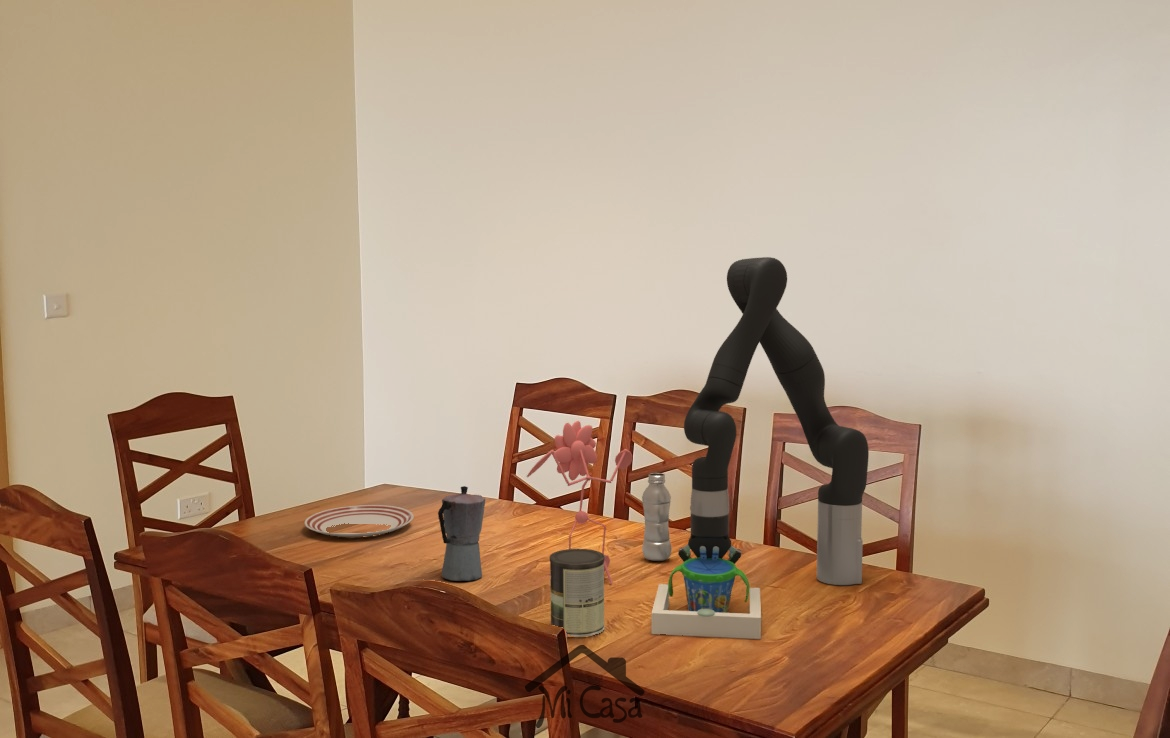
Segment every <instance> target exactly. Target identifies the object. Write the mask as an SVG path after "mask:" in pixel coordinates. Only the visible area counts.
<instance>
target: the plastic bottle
mask: <svg viewBox="0 0 1170 738" xmlns="http://www.w3.org/2000/svg"><path fill="white" fill-rule="evenodd" d="M647 483H649V484H648V486H647V487H646V488H645V489H644V491H643V493H642V496H641V500H642V508H643V513H644V514H643V516H644V536H643V542H642V555H643V556H644V558H645V560H649V561H653V562H654V561H655V562H662V561H667V560H669V558H670V557H671V554H672V543H671V539H670V529H669V520H670V519H669V518H670V507H671V502H672V501H671V499H672V496H671V494H670V492H669V490H668V489H667V487H666V486H665V483H666V474H665V473H662V472H651V473H649V474H648V480H647Z"/></svg>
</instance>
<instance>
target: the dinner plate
mask: <svg viewBox="0 0 1170 738" xmlns="http://www.w3.org/2000/svg"><path fill="white" fill-rule="evenodd" d="M414 517H415V516H414V514H413V512H411V511H410V510H409V509H406V508H403V507H399V506H395V505H394V506H393V505H383V504H364V505H363V504H362V505H349V506H341V507H336V508H329V509H325V510H322V511H320V512H319V511H318V512H316V513H313V514H312V515H310V516H308V517H307V518H306V519H305V521H304V526H305V527H306V528H307V529H309V530H311V531H313V532H316V533H318V534H319V533H320V534H323V535H326V536H329V535H330V537H333V536H338V537H337V538H339V537H363V536H373V535H379V534H383V535H385V534H384V533H387V534H389V533H391V532H394V531H396V530H399V529H401V528H404V527H405V526H407V525H408V524H410V523H411V522H412V521H413V519H414ZM344 523H345V524H348V523H349V524H376V525H377V524H379V525H380V524H381V525H383V524H385V525H386V524H387V525H386V526H388V525H391V527H390V528H389V529H387V530H382V531H376V532H367V533H329V532H327V531H326V528H327V527H331V526H332V525H333V526H334V525H335V526H336V525H339V524H340V525H341V524H344ZM333 526H332V527H333ZM335 526H334V527H335ZM388 532H389V533H388ZM379 536H380V535H379ZM373 537H374V536H373Z"/></svg>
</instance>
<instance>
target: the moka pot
mask: <svg viewBox="0 0 1170 738" xmlns="http://www.w3.org/2000/svg"><path fill="white" fill-rule="evenodd" d="M468 488H469V487H468V486H466V485H465V486H461V487H460V492H461V493H458V494H451V495H446V496H445V497H443V498H442V500H441V502H442V504H441V507H440V508H439V509H438V512H437V516H438V520H439V526H440V531H441V536H442V543H444V544H446V545H445V553H444V558H443V563H442V569H441V577H442V578H443V579H446V580H449V581H456V582H466V581H475V580H479V579H480V578H482V577H483V571H482V562H481V551H480V543H479V542H480V535H481V532H482V529H483V527H482V526H483V519H484V513H485V507H486V506H485V505H486V498H485V497H483V496H482V495H480V494H471V493H470V494H469V493H468Z"/></svg>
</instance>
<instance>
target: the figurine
mask: <svg viewBox="0 0 1170 738" xmlns="http://www.w3.org/2000/svg"><path fill="white" fill-rule="evenodd" d="M593 430H594V429H593V426H592V425H590V424H588V425H583V427H582V424H581V421H580V420H576V421H574V422H573V423H572V424H570V423H569V422H565V423H564V426H563V429H562V435H559V434H556V435H555V436H554V445H555V448H556V450H554V449H551V450H550V451H548V452H547V453H546V454H545V455H543V456H542V457H541V458H540V459H539V460H537V462H536V463H535V464H534V465H533V467H532V468H531V469H530V470H529V472H528V474H527V475H526V477H527V478H529V477H530V476H531V475H533V474H534V473H535V472H537V471H538V470H539V469H540V468H541V467H542V466H543V464H544V463H546V462H547V461H548V460H549V458H550V457H551V456H552V457H553V458H554V461H555V463H556V465H557V467H556V472H557V474H561V475H562V477H563V479H564V480H565V483H566V484H567V486H568V487H570V486H573V485H575V484H578V483H580V482H584V483H583V484H582V486H581V493H580V499H579V500H580V501H579V502H580V503H579V509H578V510H579V511H577V512H576V514H575V515H574V518H575V519H574V520H575V521H574V523H573V526H572V529H571V530H570V532H569V535H568V549H572V548H571V546H572V545H571V544H572V539H571V538H572V537H571V536H572V534H573V532H574V530H575V527H576V525H577V523H578V524H580V525H583V524H585V523H587V522H588V521H589V522H591V523H594V524H597V525H599V526H602V527H603V535H602V536H603V537H602V550H601V553H602V554H604V556H605V560H604V572H606V575H607V579H608V582H609V584H610V585H613V584H614V583H613V580H612V577H611V575H610V571H609V565H610V562H611V558H610V557H609V555H608V554H605V544H606V543H605V542H606V529H607V527H606V525H605V524H604V523H601V522H598V521H596V520H593V519H591V518H589V515H588V513H587V512H586V511H584V510H582V507H583V501H584V500H583V499H584V495H585V487H586V485H587V483H588V482H590V481H591V480H594V481H598V482H602V483H603V482H604V483H609V484H612V482H613V481H614V478H615V477H616V474H617V473H618V471H619V470H621V471H624V470H625V469H626V468H628V467H629V466H630V465H632V462H633V454H632V452H631V451H630V450H628V449H627V448H624V449H623V450H621V451H619V452H618V453H617V455H616V456H615V458H614V462H615V466H616V467H615V469H614V472H613V473H612V476H611V477H610V479H609V480H608V479H603V478H599V477H593V476H591V475H590V474H589V470H588V465H589V464H592V465H593V464H596V463H597V462H598V456H597V452H596V451H595V447H596V445H597V442H596V441H595V439H593V437H592V434H593ZM544 465H545V464H544ZM565 473H568V477H569V479H568V478H567V476H566V474H565ZM579 476H580V477H583V478H579V479H577V478H578V477H579ZM584 476H585V477H584ZM576 479H577V480H576ZM569 480H571V482H569ZM544 577H545V578H547V577H550V574H547V575H545V576H544ZM544 577H541V578H539V579H537V580H535V581H534V583H533V584H532V586H534V585H535V584H536V583H537V582H538V581H540V580H542V579H545V578H544ZM630 577H631V578H632V579H635V577H633V576H630ZM630 577H629V578H630Z"/></svg>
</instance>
